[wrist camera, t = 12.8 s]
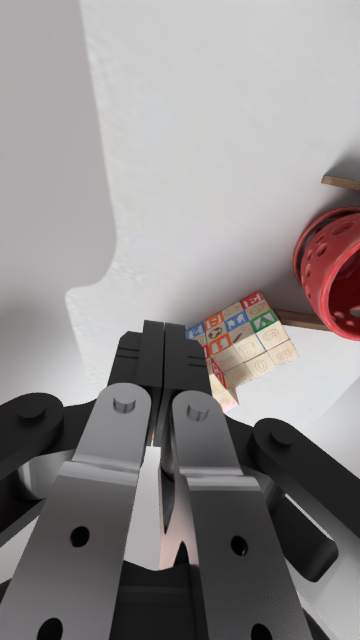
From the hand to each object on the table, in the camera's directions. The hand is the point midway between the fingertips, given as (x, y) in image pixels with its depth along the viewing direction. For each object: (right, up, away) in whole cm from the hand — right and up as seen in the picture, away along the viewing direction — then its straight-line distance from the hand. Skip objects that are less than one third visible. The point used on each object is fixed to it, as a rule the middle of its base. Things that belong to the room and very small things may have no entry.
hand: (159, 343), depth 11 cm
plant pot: (+21, +10, +29) cm, 37 cm away
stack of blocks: (+5, -2, +35) cm, 35 cm away
